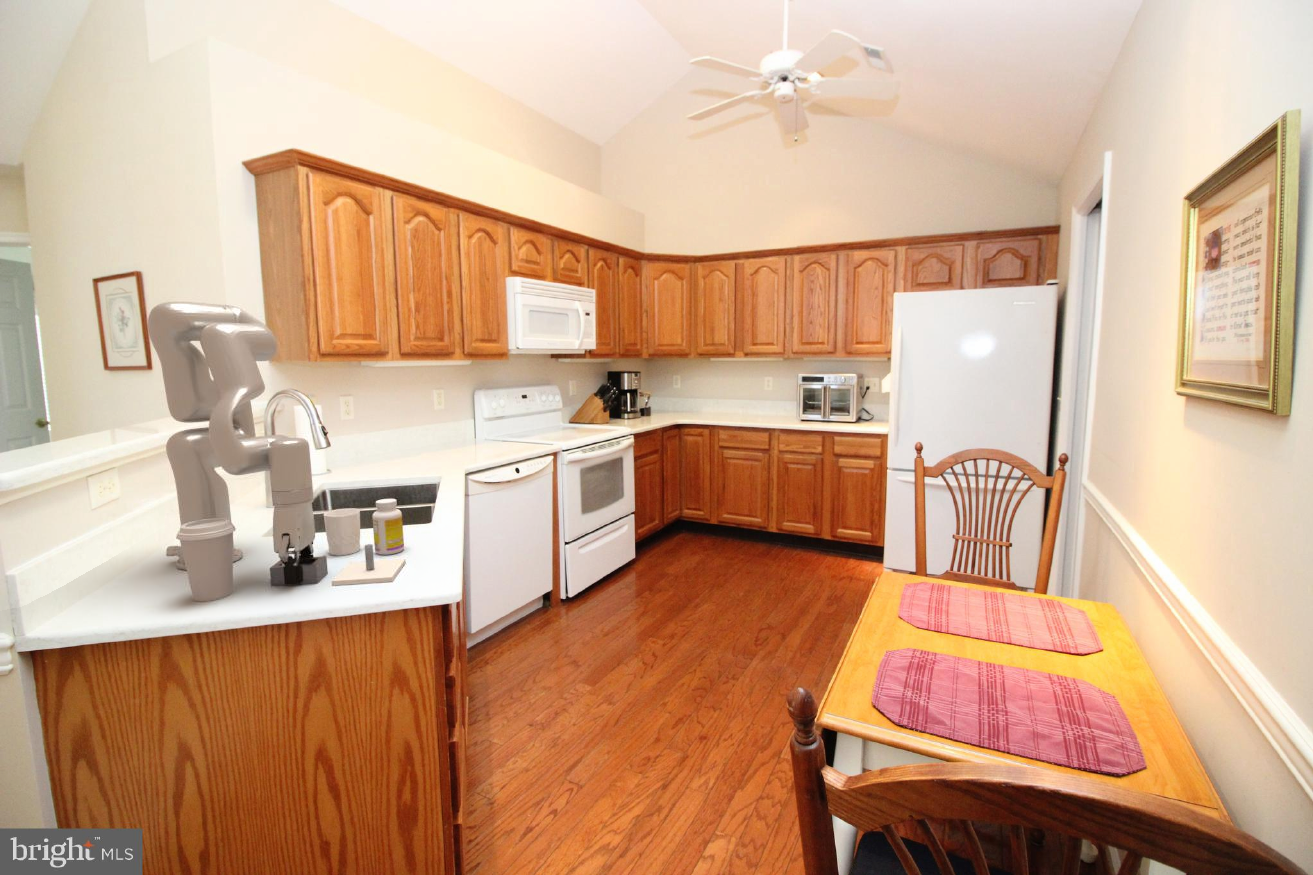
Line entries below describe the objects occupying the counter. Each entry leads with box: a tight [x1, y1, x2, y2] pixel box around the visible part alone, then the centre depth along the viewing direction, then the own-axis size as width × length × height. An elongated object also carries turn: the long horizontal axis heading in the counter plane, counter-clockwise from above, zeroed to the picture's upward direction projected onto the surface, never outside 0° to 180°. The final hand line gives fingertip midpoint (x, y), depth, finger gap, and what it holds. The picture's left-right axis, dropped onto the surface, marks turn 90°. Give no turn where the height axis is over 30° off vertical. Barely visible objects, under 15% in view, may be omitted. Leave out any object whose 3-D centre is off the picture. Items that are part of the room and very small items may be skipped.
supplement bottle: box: [371, 498, 405, 556], centre depth 148 cm, size 7×7×13 cm
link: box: [269, 555, 329, 587], centre depth 130 cm, size 9×6×4 cm, turn 100°
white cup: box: [323, 507, 361, 557], centre depth 149 cm, size 8×8×10 cm
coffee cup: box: [175, 518, 237, 602], centre depth 121 cm, size 10×10×15 cm
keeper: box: [331, 543, 407, 586], centre depth 133 cm, size 12×12×6 cm
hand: (300, 577), depth 130 cm, fingers closed on link, 6 cm apart
